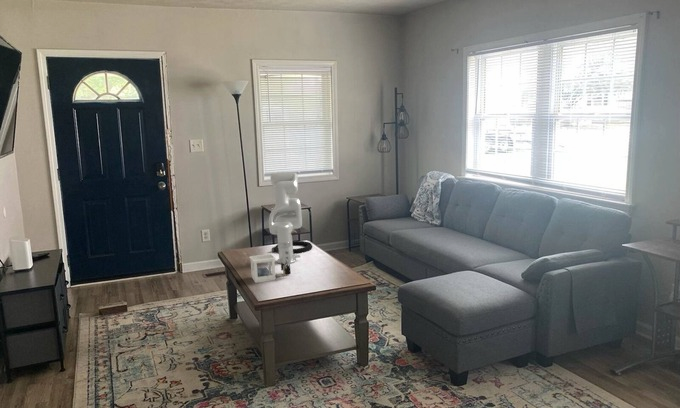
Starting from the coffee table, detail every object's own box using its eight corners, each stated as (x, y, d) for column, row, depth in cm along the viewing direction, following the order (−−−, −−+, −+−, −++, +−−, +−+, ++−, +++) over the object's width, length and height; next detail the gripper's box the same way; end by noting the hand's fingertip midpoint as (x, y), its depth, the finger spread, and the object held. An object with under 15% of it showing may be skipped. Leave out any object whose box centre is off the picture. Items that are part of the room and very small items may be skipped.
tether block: (287, 273, 323) (286, 264, 322) (289, 276, 317) (289, 266, 316) (256, 278, 316) (256, 268, 315) (258, 280, 311) (258, 271, 310)
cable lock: (317, 246, 374) (277, 251, 363) (318, 251, 375) (277, 257, 363) (304, 238, 399) (266, 243, 388) (305, 243, 400) (267, 248, 388)
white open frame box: (271, 274, 323) (270, 253, 321) (276, 279, 311) (275, 258, 309) (250, 277, 318) (249, 256, 316) (254, 283, 306) (253, 261, 304)
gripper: (294, 247, 309) (295, 274, 312) (286, 241, 325) (288, 267, 328) (281, 248, 307) (283, 276, 310) (274, 242, 323) (276, 269, 326)
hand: (285, 272), depth 319 cm, fingers open, 9 cm apart
